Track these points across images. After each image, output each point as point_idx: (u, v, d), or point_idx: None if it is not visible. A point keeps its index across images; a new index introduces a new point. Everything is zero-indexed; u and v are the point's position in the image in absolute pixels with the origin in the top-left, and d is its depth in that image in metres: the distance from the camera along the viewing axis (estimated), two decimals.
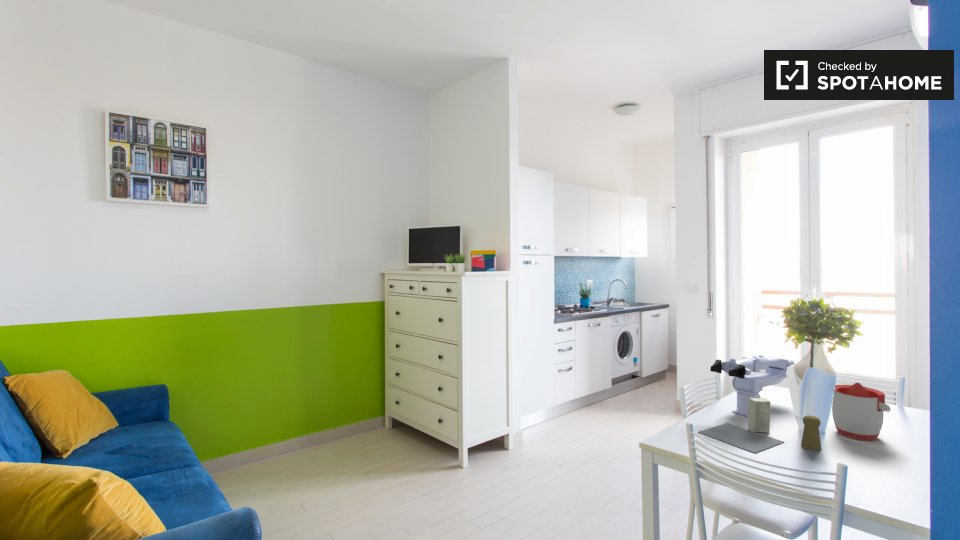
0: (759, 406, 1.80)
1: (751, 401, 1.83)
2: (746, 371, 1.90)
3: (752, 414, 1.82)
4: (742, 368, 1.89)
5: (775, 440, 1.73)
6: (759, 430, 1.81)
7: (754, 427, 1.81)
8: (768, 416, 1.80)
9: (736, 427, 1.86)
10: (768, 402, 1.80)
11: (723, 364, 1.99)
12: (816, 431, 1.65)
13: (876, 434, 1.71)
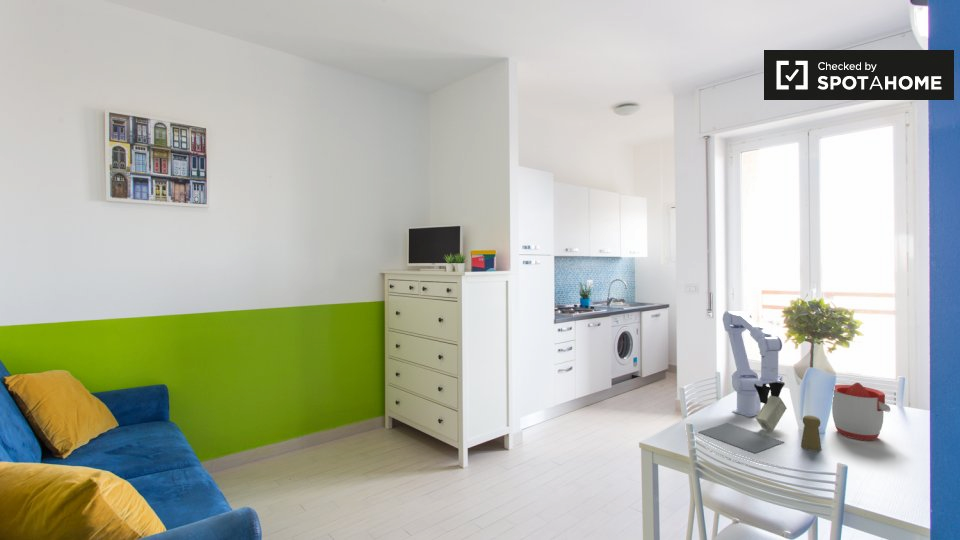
0: (780, 404, 1.84)
1: (774, 397, 1.85)
2: None
3: (771, 407, 1.83)
4: None
5: (775, 440, 1.73)
6: (769, 423, 1.80)
7: (768, 417, 1.80)
8: (779, 418, 1.83)
9: (736, 427, 1.86)
10: (785, 407, 1.85)
11: None
12: (816, 431, 1.65)
13: (876, 434, 1.71)
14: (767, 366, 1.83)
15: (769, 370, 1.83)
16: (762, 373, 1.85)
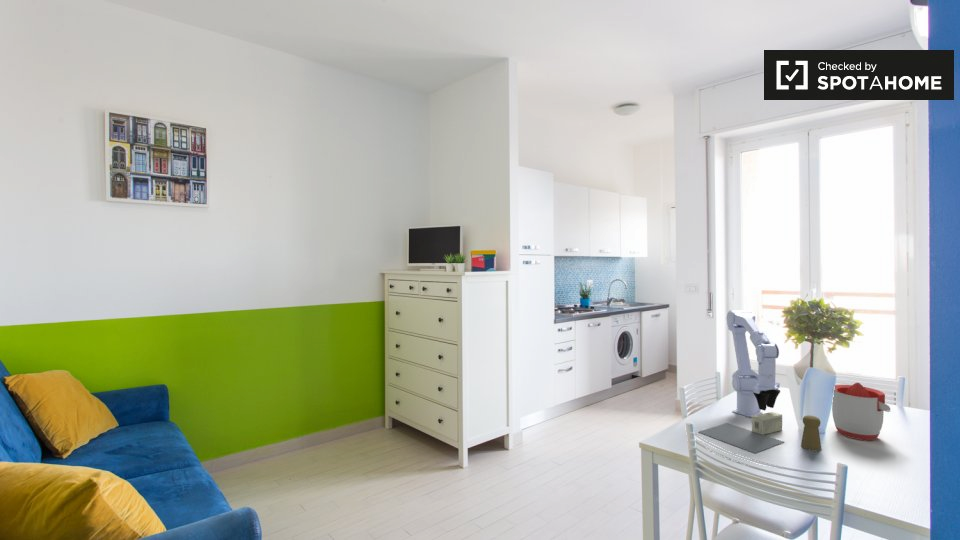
0: (779, 420, 1.82)
1: (776, 413, 1.84)
2: None
3: (770, 415, 1.81)
4: None
5: (775, 440, 1.73)
6: (763, 424, 1.78)
7: (765, 419, 1.79)
8: (772, 430, 1.80)
9: (736, 427, 1.86)
10: (781, 428, 1.83)
11: None
12: (816, 431, 1.65)
13: (876, 434, 1.71)
14: (763, 373, 1.82)
15: (766, 377, 1.82)
16: (759, 380, 1.84)
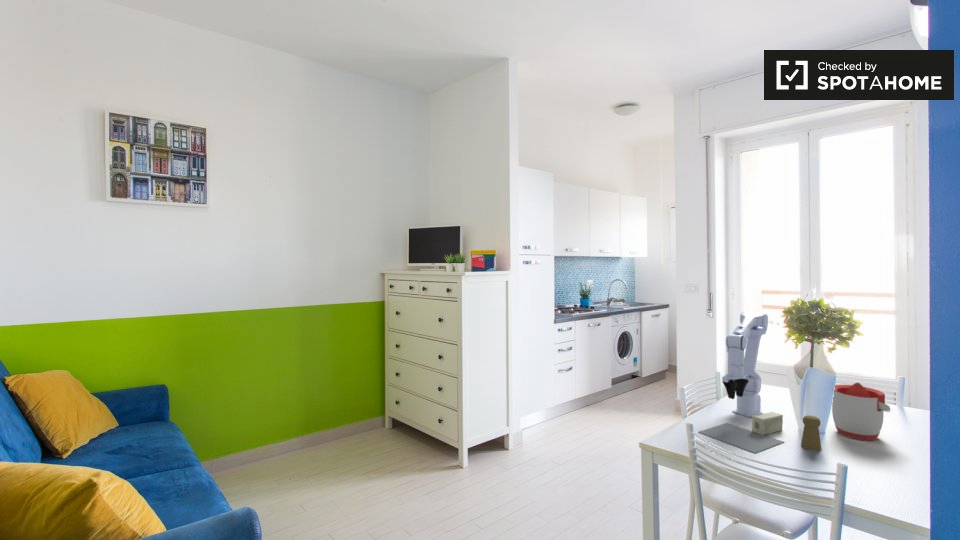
0: (779, 420, 1.82)
1: (776, 413, 1.84)
2: None
3: (771, 416, 1.81)
4: None
5: (775, 440, 1.73)
6: (763, 425, 1.78)
7: (765, 419, 1.78)
8: (772, 431, 1.80)
9: (736, 427, 1.86)
10: (781, 428, 1.83)
11: None
12: (816, 431, 1.65)
13: (876, 434, 1.71)
14: (728, 362, 1.91)
15: (735, 367, 1.88)
16: (728, 370, 1.91)
